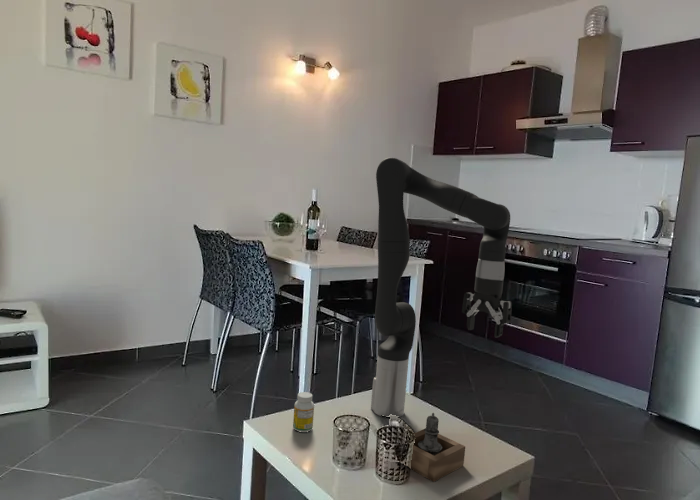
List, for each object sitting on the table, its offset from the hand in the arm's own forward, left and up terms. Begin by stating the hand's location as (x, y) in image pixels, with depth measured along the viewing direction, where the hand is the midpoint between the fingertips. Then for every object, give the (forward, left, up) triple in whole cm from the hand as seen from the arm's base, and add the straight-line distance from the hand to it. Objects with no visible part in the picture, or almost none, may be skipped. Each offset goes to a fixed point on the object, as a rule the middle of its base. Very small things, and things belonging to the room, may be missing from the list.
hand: (483, 333), depth 145 cm
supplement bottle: (-28, -40, -28) cm, 56 cm away
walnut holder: (+4, -26, -28) cm, 38 cm away
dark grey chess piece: (+4, -26, -28) cm, 38 cm away
